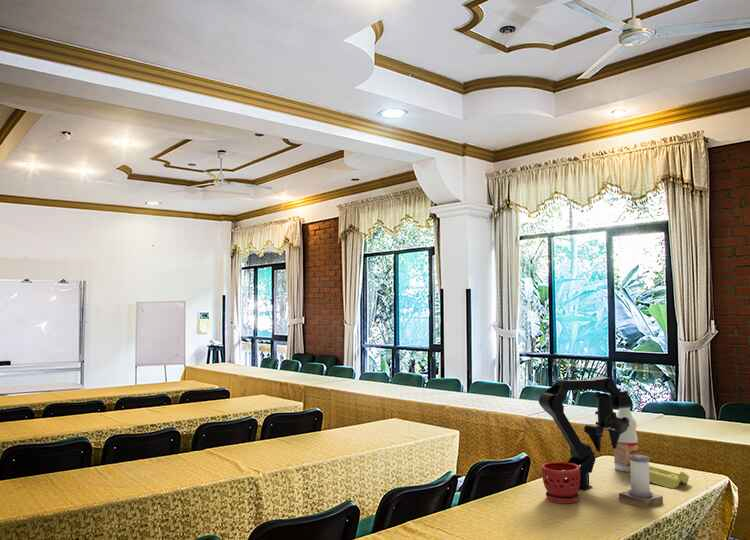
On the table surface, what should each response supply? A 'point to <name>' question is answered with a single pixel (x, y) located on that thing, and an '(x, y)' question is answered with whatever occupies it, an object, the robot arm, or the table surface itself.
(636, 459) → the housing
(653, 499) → the stand
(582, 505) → the table surface
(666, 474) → the plastic component
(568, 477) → the plant pot
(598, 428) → the robot arm
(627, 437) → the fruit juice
